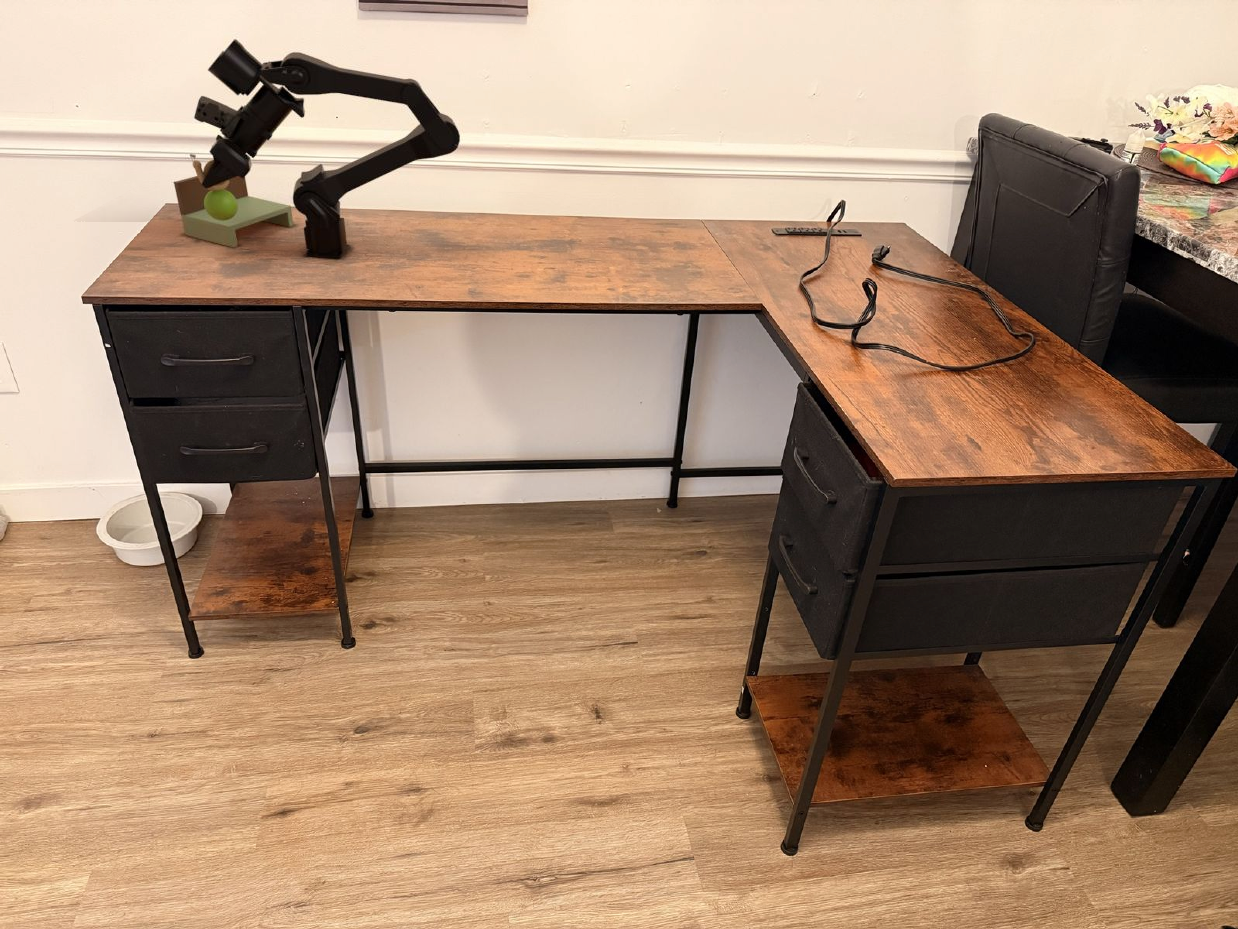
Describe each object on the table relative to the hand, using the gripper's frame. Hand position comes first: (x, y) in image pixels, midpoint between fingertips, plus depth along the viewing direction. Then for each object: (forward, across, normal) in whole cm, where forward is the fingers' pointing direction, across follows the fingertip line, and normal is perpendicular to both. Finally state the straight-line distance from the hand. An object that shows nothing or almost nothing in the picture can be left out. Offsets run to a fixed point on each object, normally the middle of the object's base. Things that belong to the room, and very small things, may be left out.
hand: (205, 183), depth 148 cm
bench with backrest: (+8, -14, +11) cm, 19 cm away
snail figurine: (+4, 0, +6) cm, 7 cm away
